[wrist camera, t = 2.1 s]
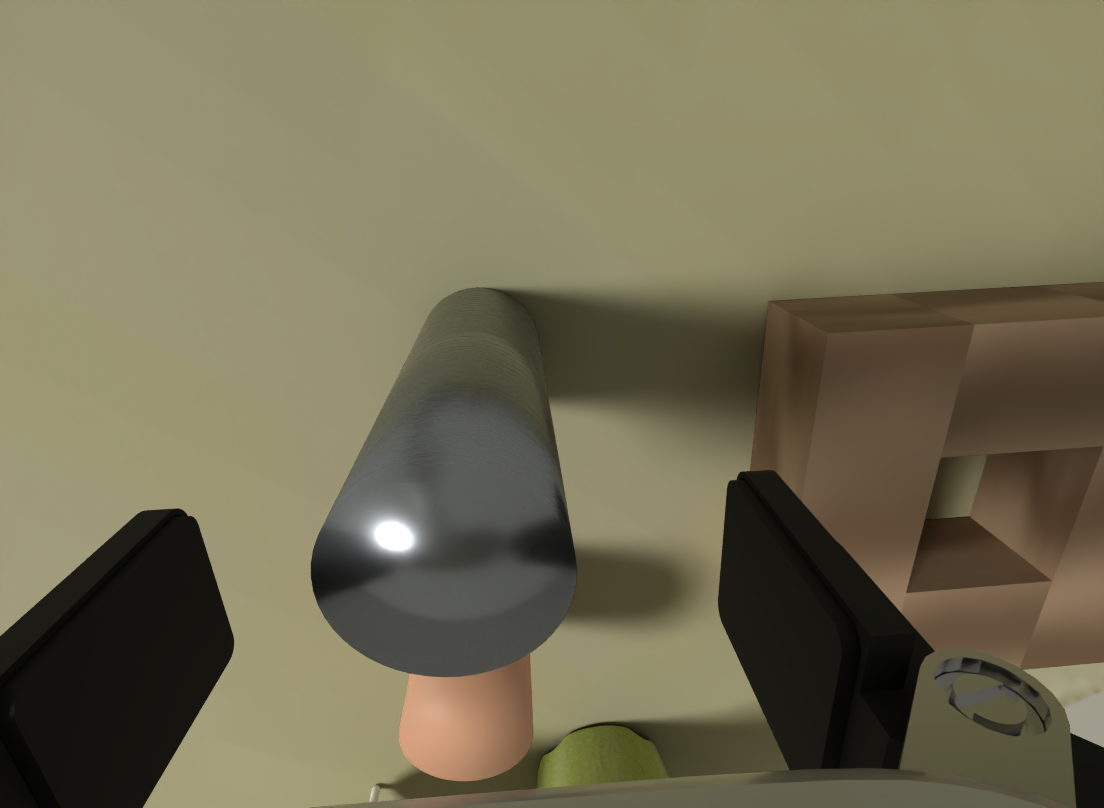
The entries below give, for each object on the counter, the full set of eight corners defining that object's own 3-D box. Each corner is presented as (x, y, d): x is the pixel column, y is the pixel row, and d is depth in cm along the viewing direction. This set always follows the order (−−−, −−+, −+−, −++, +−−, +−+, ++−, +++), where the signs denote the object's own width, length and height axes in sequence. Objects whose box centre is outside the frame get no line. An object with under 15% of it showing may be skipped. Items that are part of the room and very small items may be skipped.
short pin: (422, 543, 23) (389, 695, 16) (523, 536, 23) (529, 682, 17) (434, 621, 24) (408, 786, 18) (529, 613, 25) (536, 774, 18)
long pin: (414, 291, 19) (284, 476, 8) (535, 284, 19) (574, 456, 8) (429, 403, 21) (338, 687, 10) (541, 395, 21) (579, 666, 10)
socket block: (768, 301, 20) (827, 333, 16) (1152, 279, 21) (1292, 305, 17) (734, 615, 25) (772, 692, 22) (1038, 589, 26) (1124, 660, 22)
